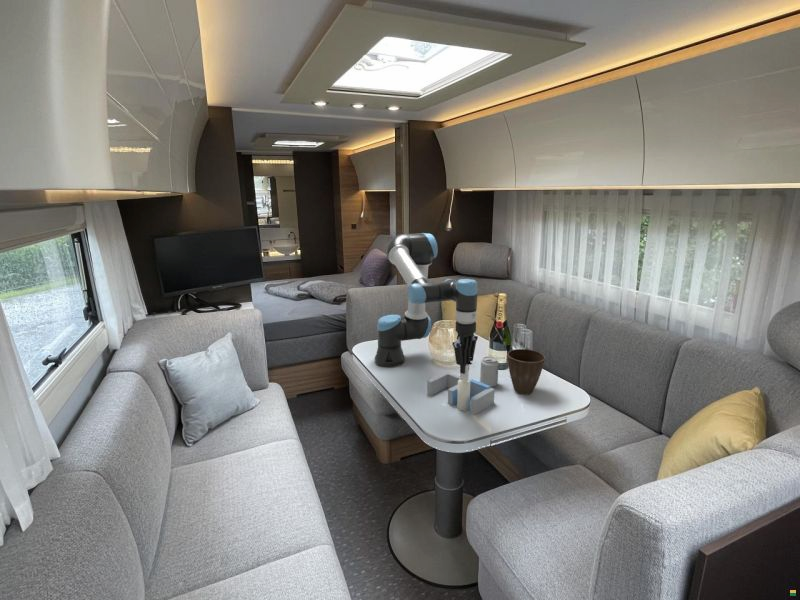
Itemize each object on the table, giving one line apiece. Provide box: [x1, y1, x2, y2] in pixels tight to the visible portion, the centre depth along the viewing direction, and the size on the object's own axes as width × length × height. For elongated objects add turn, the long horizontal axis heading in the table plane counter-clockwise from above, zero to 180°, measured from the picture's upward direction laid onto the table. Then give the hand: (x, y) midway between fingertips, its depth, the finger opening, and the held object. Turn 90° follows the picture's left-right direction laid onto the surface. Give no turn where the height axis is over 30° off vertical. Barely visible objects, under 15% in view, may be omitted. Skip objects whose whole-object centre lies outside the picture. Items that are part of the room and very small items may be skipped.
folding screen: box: [426, 371, 496, 416], centre depth 161 cm, size 24×13×7 cm, turn 44°
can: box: [479, 355, 499, 388], centre depth 173 cm, size 8×8×12 cm
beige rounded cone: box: [456, 379, 471, 412], centre depth 154 cm, size 5×5×11 cm
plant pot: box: [507, 348, 546, 395], centre depth 166 cm, size 15×15×16 cm
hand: (464, 380), depth 152 cm, fingers closed
